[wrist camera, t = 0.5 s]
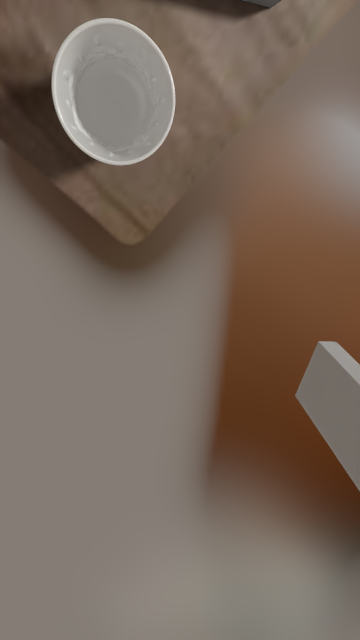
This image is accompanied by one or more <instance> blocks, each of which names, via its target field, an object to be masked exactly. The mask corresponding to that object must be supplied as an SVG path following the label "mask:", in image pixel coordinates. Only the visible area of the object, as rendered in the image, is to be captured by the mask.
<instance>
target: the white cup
mask: <svg viewBox="0 0 360 640" xmlns="http://www.w3.org/2000/svg"><path fill="white" fill-rule="evenodd" d="M51 87H52V97H53V103H54V107H55V110H56V113H57V116H58V118H59V121H60V123H61V125H62V127H63V128H64V130H65V132H66V133H67V135H68V136H69V137H70V139H71V140H72V141H73V142H74V143H75V145H76V146H77V147H79V148H80V149H81V150H82V151H83V152H84V153H86V154H87V155H89V156H90V157H92V158H94V159H96V160H98V161H100V162H103V163H107V164H111V165H129V164H134V163H137V162H139V161H142V160H144V159H145V158H147V157H149V156H150V155H151V154H153V153H154V152H155V151H156V150H157V149H158V148H159V147H160V145H161V144H162V143H163V141H164V140H165V138H166V136H167V134H168V132H169V130H170V127H171V124H172V121H173V117H174V111H175V89H174V83H173V78H172V75H171V71H170V69H169V66H168V64H167V61H166V59H165V57H164V56H163V54H162V52H161V51H160V49H159V48H158V46H157V45H156V44H155V43H154V42H153V40H152V39H151V38H150V37H149V36H148V35H147V34H145V33H144V32H143V31H142V30H140V29H139V28H137V27H136V26H134V25H132V24H130V23H128V22H125V21H122V20H118V19H112V18H100V19H95V20H91V21H88V22H86V23H84V24H82V25H80V26H79V27H77V28H76V29H75V30H73V31H72V32H71V33H70V34H69V35H68V36H67V38H66V39H65V40H64V42H63V43H62V45H61V46H60V48H59V50H58V53H57V55H56V58H55V61H54V65H53V70H52V79H51Z"/></svg>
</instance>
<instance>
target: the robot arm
mask: <svg viewBox="0 0 360 640" xmlns="http://www.w3.org/2000/svg"><path fill="white" fill-rule="evenodd" d="M295 396H296V398H297V399H298V400H299V402H300V403H301V405H302V406H303V408H304V409H305V411H306V412H307V414H308V415H309V417H310V418H311V420H312V421H313V423H314V424H315V426H316V427H317V429H318V430H319V432H320V433H321V434H322V436H323V438H324V439H325V440H326V442H327V443H328V445H329V446H330V448H331V449H332V451H333V452H334V454H335V455H336V457H337V458H338V460H339V461H340V463H341V464H342V466H343V467H344V469H345V470H346V472H347V473H348V475H349V476H350V478H351V479H352V480H353V482H354V483H355V485H356V486H357V488H358V489H359V491H360V365H359V364H358V363H357V362H356V361H355V360H354V359H353V358H352V357H351V356H350V355H349V354H348V353H347V352H346V351H345V350H344V349H343V348H342V347H341V346H340V345H339V344H338V343H337V342H320V341H319V342H318V344H317V346H316V349H315V351H314V353H313V356H312V358H311V360H310V363H309V365H308V367H307V370H306V372H305V374H304V376H303V379H302V381H301V383H300V386H299V388H298V390H297V393H296V395H295Z"/></svg>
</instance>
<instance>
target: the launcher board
mask: <svg viewBox="0 0 360 640" xmlns="http://www.w3.org/2000/svg"><path fill="white" fill-rule="evenodd" d="M242 1H246V2H250V3H254V4H258V5H262V6H266V7H270V8H272V7H273V6H274V5H276V4H277V3H278V2H280V1H281V0H242Z"/></svg>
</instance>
